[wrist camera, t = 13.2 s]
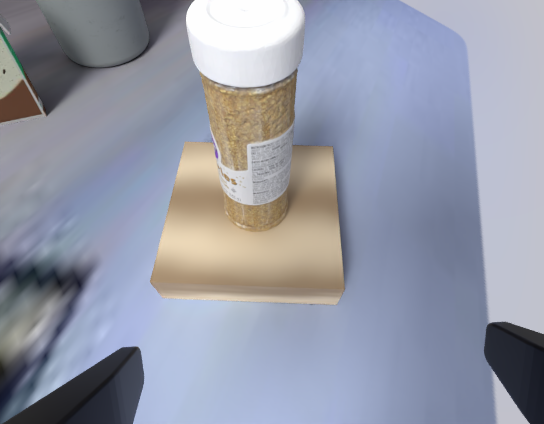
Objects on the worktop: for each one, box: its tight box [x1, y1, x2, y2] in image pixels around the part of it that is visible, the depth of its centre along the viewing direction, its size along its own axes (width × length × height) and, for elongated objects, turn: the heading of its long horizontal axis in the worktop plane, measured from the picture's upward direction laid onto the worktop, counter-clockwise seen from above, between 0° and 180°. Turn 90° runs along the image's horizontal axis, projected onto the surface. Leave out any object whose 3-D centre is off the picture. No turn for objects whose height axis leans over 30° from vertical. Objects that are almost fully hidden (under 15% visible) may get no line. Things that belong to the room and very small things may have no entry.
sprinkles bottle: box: [186, 0, 305, 232], centre depth 18 cm, size 5×5×14 cm
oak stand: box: [150, 142, 345, 305], centre depth 25 cm, size 12×12×3 cm
